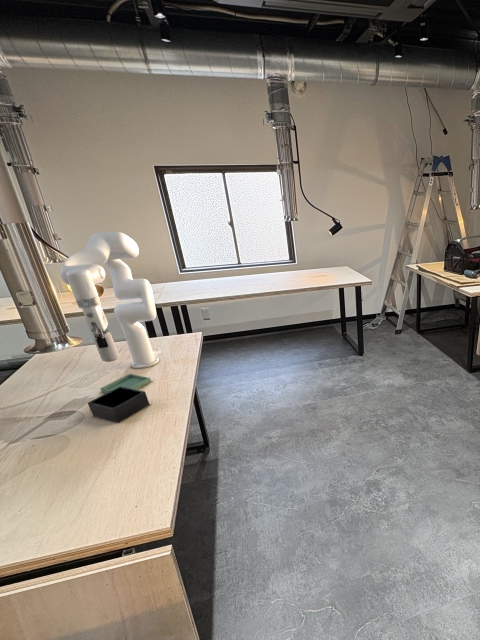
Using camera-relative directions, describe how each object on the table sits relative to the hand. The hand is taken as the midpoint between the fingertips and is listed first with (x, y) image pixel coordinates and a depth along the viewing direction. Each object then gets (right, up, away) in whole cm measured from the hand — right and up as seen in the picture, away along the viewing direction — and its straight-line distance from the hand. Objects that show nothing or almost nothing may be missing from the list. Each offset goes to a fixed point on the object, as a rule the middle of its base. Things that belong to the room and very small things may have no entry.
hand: (105, 343), depth 168 cm
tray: (-4, -18, +20) cm, 27 cm away
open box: (+6, -27, +1) cm, 28 cm away
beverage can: (0, -6, +4) cm, 7 cm away
